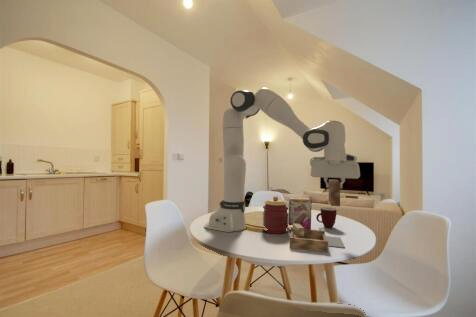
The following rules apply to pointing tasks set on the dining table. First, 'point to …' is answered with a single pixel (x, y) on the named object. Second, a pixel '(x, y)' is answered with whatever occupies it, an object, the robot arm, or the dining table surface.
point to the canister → (275, 216)
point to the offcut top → (298, 229)
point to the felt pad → (335, 242)
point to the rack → (310, 240)
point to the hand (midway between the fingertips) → (334, 188)
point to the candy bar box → (300, 212)
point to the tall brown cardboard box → (334, 193)
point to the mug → (327, 217)
